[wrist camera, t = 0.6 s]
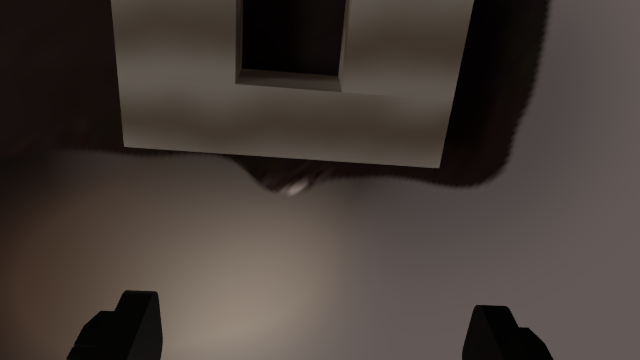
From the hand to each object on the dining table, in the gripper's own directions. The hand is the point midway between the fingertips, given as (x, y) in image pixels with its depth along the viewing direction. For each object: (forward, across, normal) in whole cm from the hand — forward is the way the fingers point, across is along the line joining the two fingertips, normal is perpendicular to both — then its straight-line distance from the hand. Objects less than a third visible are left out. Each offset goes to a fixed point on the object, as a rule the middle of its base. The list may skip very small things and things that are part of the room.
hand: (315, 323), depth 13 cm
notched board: (+27, +1, +1) cm, 27 cm away
